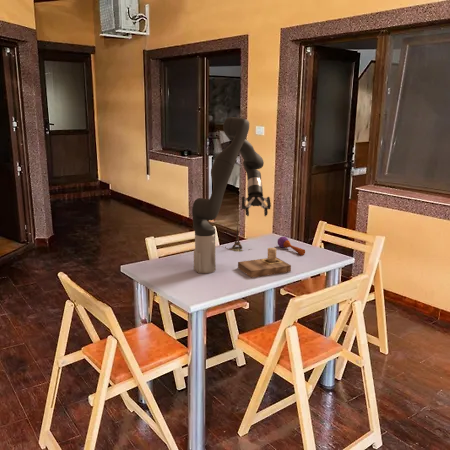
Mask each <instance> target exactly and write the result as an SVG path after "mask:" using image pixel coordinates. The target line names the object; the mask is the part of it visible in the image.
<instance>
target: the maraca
mask: <svg viewBox="0 0 450 450" xmlns="http://www.w3.org/2000/svg"><path fill="white" fill-rule="evenodd" d="M277 245H278V247H279V248H285V249H288V248H291V250H293V251H295V252H296V254H298V255H300V256H304V255H305V254H306V250H305V249H303V248H300V247H297V246H295V245H292V244H291V242H290V240H289V239H288V237H286V236H280V237H278V239H277Z"/></svg>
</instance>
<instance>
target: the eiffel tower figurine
mask: <svg viewBox="0 0 450 450" xmlns="http://www.w3.org/2000/svg"><path fill="white" fill-rule="evenodd" d="M235 237H236V238H235V241H234V244H233V245H232V247H231V248H229V249H228V247H225V249H227V250H230V251H233V252H235V253H236V252H243V251H245V250H243V245H242V244H241V241H240V237H239V226H238V224H237V226H236V236H235ZM251 250H252V248H250V249H249V251H251Z"/></svg>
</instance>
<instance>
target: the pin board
mask: <svg viewBox="0 0 450 450" xmlns="http://www.w3.org/2000/svg"><path fill="white" fill-rule="evenodd" d="M267 260H268V257H267V258H266V257H265V258H260V259H259V258H258V259H251V260H250V259H249V260H243V261H242V260H241V261H237V269H238V270H240V271H241V272H243V273H244V274H246V275H247V276H248V277H250V278H252V279H253V278H257V277H264V276H270V275H271V276H272V275H278V274H283V273H284V274H285V273H291V272H292V265H291V264H289V263H287V262H285V261H284V260H282V259H280V258H278V257H277V256H276V262H275V263H268V262H267Z"/></svg>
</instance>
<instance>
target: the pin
mask: <svg viewBox="0 0 450 450" xmlns="http://www.w3.org/2000/svg"><path fill="white" fill-rule="evenodd" d="M276 257H277V248H276V247H268V248H267V258H268V260H267V262H268V263H275V262H276Z"/></svg>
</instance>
